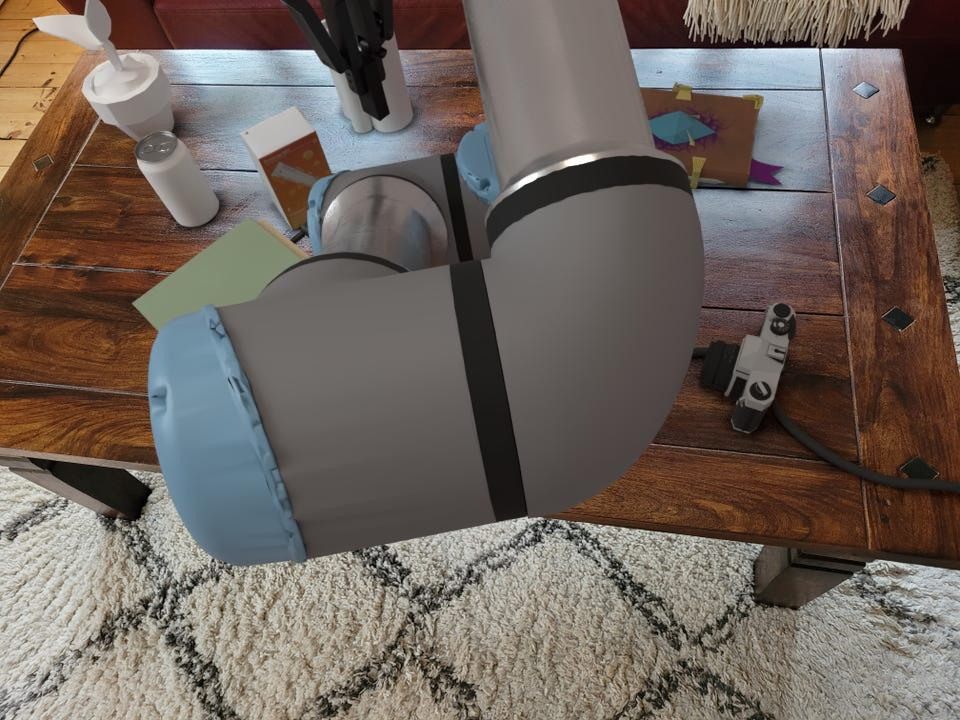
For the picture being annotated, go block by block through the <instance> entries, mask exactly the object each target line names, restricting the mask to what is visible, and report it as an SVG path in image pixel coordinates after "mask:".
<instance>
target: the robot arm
mask: <svg viewBox="0 0 960 720" xmlns="http://www.w3.org/2000/svg"><path fill="white" fill-rule="evenodd" d="M278 1H279V2H280V3H281V4H282V5H284V7H285V8H286V9H287V11H288V12H289V14H290V15H291V18H292V19H293V20H294V22H295V23H296V25H297V27H298V28H299V29H300V31H301V33H302V34H303V35H304V37H305V39H306V40H307V42H308V44H309V45H310V46H311V48H312V50H313V51H314V53H315V54H316V56H317V57H318V59H319V61H320V62H321V63H322V64H323V65H324V66H326V67H327V68H328V69H329V68H331V69H332V70H334V71H336V72H337V73H339V74H343V73H344V72H345V76H346V79H347V82H348V85H349V88H350V90H351V91H352V92H354V93H355V94H357V95H359V99H360V102H361V105H362V108H363V111H364V112H365V113H367V114H369V115H370V116H372V117H373V118H375V119H377V120H378V121H381V120H382V119H384V118H385V117H386V116H388V115H389V114H390V112H389V108H388V104H387V100H386V97H385V93H384V89H383V85H382V81H384V80H385V79H386V73H385V69H384V66H383V61H382V59H383V58H384V57H385V56H386V54H387V49H385V48H383V47H382V45H383V43H384V42H385V41H386V40H387V41H389V40H391V39H392V38H393V35H394V33H395V30H394V0H318V1H319V5H320V7H321V11H322V14H323V17H324V19H325V21H326V24H327V27H328V30H329V33H330V36H329V34H328V32H327V31H326V29H325V27H324V25H323V24H322V22H321V21H322V20H321V19H320V17H319V15H318V14H317V12H316V11H315V8H314V7H313V5H312V4H311V2H309V1H308V0H278ZM461 3H462V8H463V13H464V19H465V23H466V24H465V25H466V28H467V33H468V39H469V44H470V48H471V53H472V57H473V58H472V59H473V64H474V68H475V74H476V78H477V83H478V88H479V89H478V90H479V93H480V97H481V98H480V99H481V103H482V109H483V113H484V118H485V120H484V121H482V122H480V123H478V124H475V126H474V128H473V130H468V132H466V133H465V134H464V135H463V137H462V139H461V140H460V141H459V146H458V147H457V151H453V152H448V153H444V154H443V153H442V154H435V155H430V156H424V157H418V158H414V159H408V160H401V161H397V162H391V163H386V164H381V165H375V166H369V167H364V168H358V169H353V170H351V169H345V170H338V171H337V172H335V173H332V175H331V176H327V177H324V178H321V179H320V180H318V181H317V182H316V183H315V184H314V186H313V187H312V189H311V191H310V194H309V199H308V206H309V210H308V211H307V224H308V232H309V238H310V239H309V238H308V239H309V242H310V246H311V249H312V250H311V251H312V253H313V255H312V256H310V257H309V258H306V259H303V260H301V261H299V262H297V263H295V264H293V265H291V266H290V267H288V268H287V269H285V270H284V271H282V272H281V273H280V274H278V275H277V276H276V277H275V278H274V279H273V280H272V281H271V282H270V283H269V284H268V285H267V286H266V287H265V288H264V290H263V291H262V292H261V293H260V294H259V296H258V297H257V298H256V299H255V300H252V301H248V302H244V303H239V304H233V305H228V306H222V307H216V308H215V306H214V305H213V304H209V305H205V306H203V307H202V308H201V309H200V311H197V312H193V313H189V314H185V315H181V316H178V317H175V318H173V319H171V320H170V321H168V322H167V323H166V324H165V325H164V326H163V327H162V328H161V330H160V331H159V332H157V335H156V337H155V340H154V342H153V344H152V347H151V351H150V354H149V355H150V356H149V361H148V375H147V395H148V405H149V418H150V426H151V432H152V437H153V443H154V448H155V452H156V455H157V459H158V464H159V467H160V470H161V473H162V477H163V480H164V483H165V486H166V488H167V492H168V494H169V496H170V500H171V501H172V505H173V506H174V508H175V511H176V513H177V514H178V516H179V519H180V520H181V522H182V523H183V526H184V527H185V529H186V530H187V532H188V534H189V535H190V536H191V538H192V539H193V540H194V542H195V543H196V544H197V545H198V546H199V548H201V550H202V551H204V552H205V553H206V554H207V555H209V556H210V557H211V558H213V559H215V560H217V561H220V562H223V563H226V564H229V565H231V566H233V567H251V566H260V565H268V564H276V563H277V564H278V563H286V562H293V564H298V565H302V564H305V563H307V562H308V560H312V559H317V558H323V557H328V556H333V555H338V554H339V555H340V554H342V553H349V552H354V551H359V550H364V549H367V548H368V549H370V548H374V547H379V546H384V545H390V544H394V543H399V542H405V541H410V540H414V539H415V540H416V539H419V538H425V537H431V536H436V535H440V534H446V533H450V532H456V531H460V530H466V529H472V528H475V527H483V526H486V525H493V524H498V523H501V522H507V521H513V520H517V519H518V520H519V519H523V518H527V519H528V520H531V519H535V518H541V517H546V516H551V515H556V514H559V513H564V512H565V511H568V510H569V509H572V508H573V507H576V506H578V505H581V504H583V503H585V502H587V501H589V500H591V499H592V498H594V497H595V496H596V495H597V496H598V495H599V494H600V493H602V492H603V491H605V490H607V488H609V487H610V486H612V485H613V484H614V483H615V482H617V481H619V479H620V478H621V477H623V476H624V475H625V473H627V472H628V471H629V469H631V467H633V466H634V465H635V464H636V463H637V461H638V460H639V459H640V457H641V456H642V455H643V454H644V453H645V452H646V450H647V449H648V447H649V446H650V445H651V444H652V442H653V440H654V439H655V437H656V436H657V435H658V433H659V431H660V430H661V428H662V427H663V425H664V424H665V422H666V420H667V417H668V415H669V414H670V412H671V410H672V408H673V406H674V405H675V402H676V400H677V398H678V396H679V393H680V391H681V388H682V385H683V383H684V380H685V378H686V376H687V373H688V369H689V367H690V364H691V361H692V357H706V355H707V352H708V349H709V347H705V346H704V347H695V346H696V343H697V338H698V335H699V331H700V323H701V316H702V307H703V301H704V300H703V298H704V290H705V283H706V282H705V246H704V239H703V233H702V226H701V225H702V223H701V220H700V216H699V212H698V207H697V205H696V200H695V197H694V193H693V188H691V186H690V181H689V178H688V174H687V171H686V169H685V166H684V165H683V163H682V162H681V161H680V160H678V159H677V158H675V157H674V156H672V155H669V154H667V153H665V152H662V151H660V150H657V149H656V147H655V144H654V140H653V136H652V132H651V128H650V124H649V121H648V117H647V113H646V109H645V105H644V101H643V97H642V94H641V90H640V87H641V86H640V82H639V79H638V74H637V70H636V66H635V63H634V60H633V55H632V51H631V47H630V44H629V41H628V36H627V33H626V28H625V24H624V21H623V17H622V13H621V10H620V5H619V1H618V0H461ZM358 46H359V47H360V48H361V51H360V50H359V48H358ZM769 409H770V411H771V412H772V414H773V415H774V416H775V418H776V419H777V421H778V422H779V423H780V424H781V425H782V427H783V428H784V429H785V430H786V431H788V433H790V435H792V436H793V437H794V438H796V439H797V440H798V441H799V442H800V443H801V444H803V445H804V446H805V447H807V448H808V449H809V450H811V451H812V452H813V453H815V454H816V455H818V456H819V457H821V458H822V459H824V460H825V461H827V462H829V463H831V464H832V465H834V466H836V467H838V468H840V469H841V470H844V471H846V472H848V473H850V474H852V475H854V476H857V477H859V478H862V479H864V480H867V481H868V482H869V481H870V482H872V483H875V484H877V485H878V484H879V485H881V486H885V487H889V488H896V489H907V490H924V491H926V490H928V491H944V492H952V493H954V494H955V493H956V494H959V495H960V482H958V481H953V480H947V479H935V478H934V479H933V478H908V477H899V476H892V475H886V474H883V473H881V472H876V471H875V470H871V469H868V468H866V467H864V466H862V465H859V464H857V463H854V462H853V461H850V460H848V459H846V458H844V457H842V456H841V455H839V454H837V453H835V452H833V451H832V450H830V449H829V448H828V447H825V446H824V445H823V444H821V443H820V442H818V441H817V440H815V439H814V438H813V437H812V436H811V435H809V434H808V433H806V432H805V431H804V430H803V429H802V428H800V426H798V425H797V424H796V423H795V422H793V420H792V419H791V418H790V417H789V416H788V415H787V414H786V412H785V410H784V409H783V408H782V406H781V405H780V403H779V401H778V400H777V398H776V396H774V399H773V401H772V403H771V405H770V407H769Z"/></svg>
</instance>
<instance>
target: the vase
mask: <svg viewBox="0 0 960 720" xmlns="http://www.w3.org/2000/svg"><path fill="white" fill-rule="evenodd" d="M321 22H322V24H323V25H324V27H325V29H326V31H327V32H328V34H329V36H330V33H329V30H328V27H327V24H326V21H325V18H323V19H322V20H321ZM382 47H383V48H385V49H387V54H386V56H385V57H384V58H383V59H382V61H383V66H384V69H385V73H386V79H385V80H384V81H382V85H383V89H384V93H385V97H386V100H387V104H388V108H389V112H390V114H389V115H388V116H386V117H385V118H384V119H382V120H381V121H378V120H377V119H375V118H373V117H372V116H370V115H369V114H367V113H365V112H364V111H363V108H362V105H361V102H360V99H359V95H357V94H355V93H354V92H352V91H351V90H350V88H349V85H348V82H347V79H346V76H345V72H344V73H343V74H339V73H337V72H336V71H334V70H332V69H331V68H329V67H328V69H329V72H330V75H331V78H332V81H333V84H334V87H335V91H336V94H337V96H338V99H339V102H340V103H339V104H340V106H341V108H342V112H343V114H344V117H346V118H347V119H349V120H350V121H351V124H352V127H353V130H354V131H355V133H357V134H366V133H370V132H371V131H372V130H373V129H374V130H376V131H378V132H381V133H386V134H387V133H395V132H399V131H401V130H403V129H405V128H406V127H408V125H410V124H411V122H412V120H413V116H414V112H413V109H412V103H411V99H410V95H409V91H408V86H407V81H406V77H405V73H404V68H403V64H402V60H401V56H400V51H399V47H398V42H397V38H396V33H395V32H394V35H393V38H392V39H391V40H389V41H387V40H386V41H385V42H384V43H383V45H382ZM358 48H359V50H360V51H361V48H360V47H359V46H358Z"/></svg>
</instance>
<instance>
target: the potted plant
mask: <svg viewBox="0 0 960 720" xmlns="http://www.w3.org/2000/svg"><path fill="white" fill-rule="evenodd" d="M31 20H32V21H33V23H34V24H35V26H36V27H37V28H38V30H39V31H40V32H42V33H45V34H47V35H50V36H53V37H57V38H60V39H63V40H66V41H69V42H71V43H73V44H75V45H77V46H79V47H81V48H83V49H84V50H87V51H89V52H100V50H101V49H103V50H104V53H105V54H106V57H107V60H105V61H103V62H101V63H99V64H97V65H96V66H95V67H94V68H93V69H92V70H91V71H90V72H89V73H88V74H87V75H86V76H85V77H84V80H83V83H82V88H81V93H82V94H83V96H84V97H85V99H86V100H87V101H88V103H89V104H90V105H91V107H92V108H93V110H94V111H95V113H96V114H97V115H98V117H99V118H100V119H101V120H102V121H103V123H104V124H107V125H113V126H115V127H117V128H118V129H119V130H121V131H122V132H124V133H125V134H126V135H127V136H129V137H130V138H131V139H133V140H134V141H136V142H137V143H138V142H139V141H140V140H141V139H142V138H143V137H145V136H147V135H149V134H151V133H154V132H157V131H169V132H171V133H172V131H173V130H174V125H175V120H174V114H173V109H172V104H171V103H172V102H171V99H172V91H173V86H172V83H171V82H170V80H169V78H168V76H167V75H166V72H165V71H164V69H163V68H162V66H161V64H160V63H159V62H158V61H157V59H155V57H153V55H151V54H148V53H147V54H146V53H142V52H137V51H135V52H129V53H124V54H121V55H119V54H118V51H117V49H116V46H115V44H114V43H113V42H112V41H111V40H110V39H109V37H110V35H111V33H112V18H111V17H110V15H109V12H108V10H107V8H106V6H105V5H104V4H103V3H102V2H101V1H100V0H85V6H84V14H83V15H81V14H80V15H79V14H73V13H72V14H55V15H45V16H38V17H32V18H31Z"/></svg>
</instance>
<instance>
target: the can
mask: <svg viewBox="0 0 960 720" xmlns="http://www.w3.org/2000/svg"><path fill="white" fill-rule="evenodd" d="M133 155H134V157H135V158H136V161H137V166H138V168H139V170H140V172H141V173H142V174H143V176H144V177H145V179H146V180H147V181H148V183H149V184H150V185H151V187H152V189H153V190H154V192H155V193H156V194H157V196H158V197H159V199H160V200H161V201H162V203H163V204H164V205H165V207H166V209H167V210H168V211H169V213H170V214H171V215H172V217H173V218H174V220H175V221H176V222H177V223H178V224H179V225H180V226H183V227H188V228H197V227H201V226H204V225H206V224H208V223H209V222H211V221H212V220H213V219H214V218H215V217H216V216H217V214H218V211H219V209H220V201H219V199H218V197H217V195H216V193H215V192H214V190H213V188H212V186H211V185H210V183H209V181H208V180H207V178H206V176H205V175H204V173H203V172H202V170H201V169H200V167H199V165H198V163H197V162H196V160H195V159H194V156H193V155H192V153H191V152H190V150H189V149H188V147H187V146H186V144H185V143H184V142H183V141H182V140H181V139H179V138H178V137H177V136H176V134H174V133H173V132H172V131H171V132H169V131H157V132H154V133H151V134H149V135H147V136H145V137H143V138H142V139H141V140H140V141H139V142H137V143H136V144H135V146H134V149H133Z"/></svg>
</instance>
